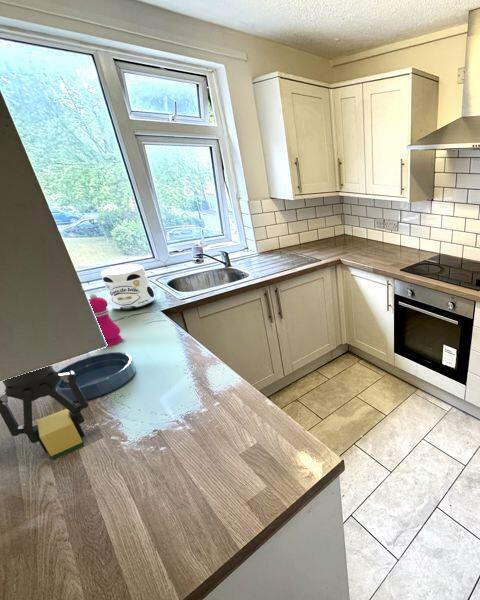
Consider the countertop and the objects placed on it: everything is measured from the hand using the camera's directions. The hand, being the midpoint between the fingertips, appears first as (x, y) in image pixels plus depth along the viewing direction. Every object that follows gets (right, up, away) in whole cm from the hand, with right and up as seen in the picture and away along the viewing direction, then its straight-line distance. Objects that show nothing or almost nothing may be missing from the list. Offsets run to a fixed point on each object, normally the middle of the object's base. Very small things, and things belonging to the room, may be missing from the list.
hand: (64, 441), depth 81 cm
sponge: (0, -1, 0) cm, 1 cm away
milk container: (-44, +32, +76) cm, 94 cm away
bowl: (-12, +9, +22) cm, 27 cm away
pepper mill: (-28, +18, +45) cm, 55 cm away
